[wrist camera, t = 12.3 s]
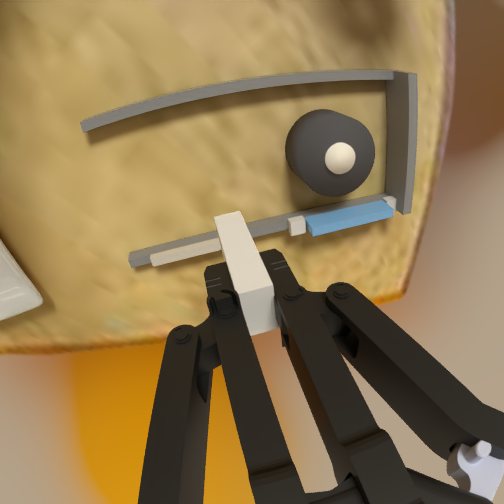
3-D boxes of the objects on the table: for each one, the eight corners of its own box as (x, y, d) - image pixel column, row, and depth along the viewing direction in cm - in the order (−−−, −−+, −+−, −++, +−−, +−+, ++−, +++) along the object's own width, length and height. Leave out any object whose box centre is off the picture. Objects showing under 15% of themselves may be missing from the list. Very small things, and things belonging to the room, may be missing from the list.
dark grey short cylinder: (288, 187, 33) (303, 205, 29) (281, 113, 28) (297, 121, 25) (355, 176, 34) (375, 191, 30) (354, 106, 29) (377, 114, 26)
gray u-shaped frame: (133, 262, 34) (130, 284, 30) (84, 119, 24) (71, 127, 21) (392, 200, 37) (410, 215, 34) (393, 69, 28) (417, 73, 24)
